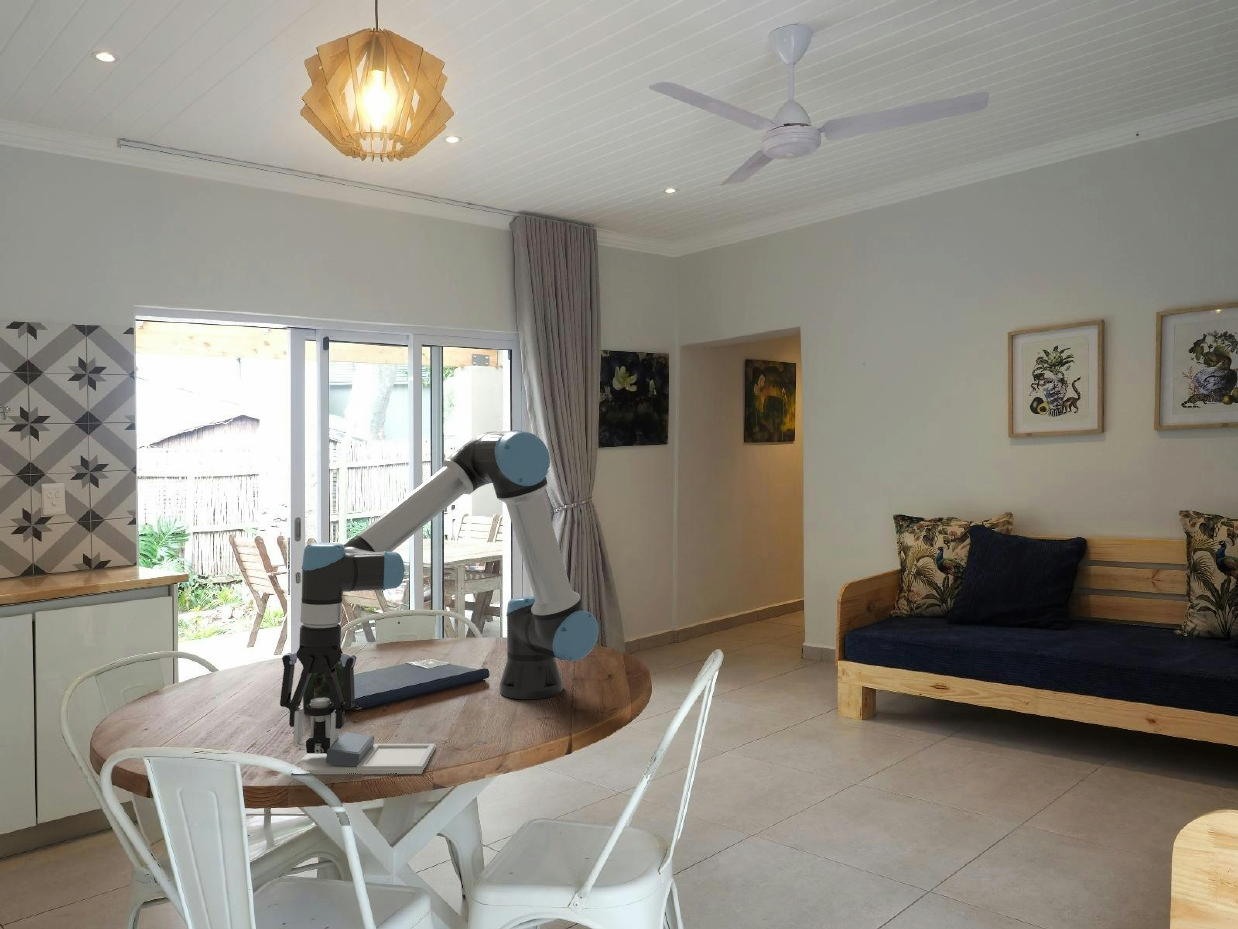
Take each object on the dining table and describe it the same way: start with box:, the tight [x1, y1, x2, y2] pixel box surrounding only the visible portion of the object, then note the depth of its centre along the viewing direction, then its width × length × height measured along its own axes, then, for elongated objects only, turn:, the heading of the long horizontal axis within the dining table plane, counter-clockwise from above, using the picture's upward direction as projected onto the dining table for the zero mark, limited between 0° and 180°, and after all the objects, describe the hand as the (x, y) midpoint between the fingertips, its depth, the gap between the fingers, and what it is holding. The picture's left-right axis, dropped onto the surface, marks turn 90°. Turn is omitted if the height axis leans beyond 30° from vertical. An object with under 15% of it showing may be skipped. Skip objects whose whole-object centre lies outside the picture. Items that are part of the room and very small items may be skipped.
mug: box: [302, 653, 350, 716], centre depth 208 cm, size 11×15×12 cm
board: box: [295, 743, 437, 775], centre depth 175 cm, size 24×14×1 cm, turn 91°
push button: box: [298, 698, 334, 754], centre depth 175 cm, size 7×5×10 cm
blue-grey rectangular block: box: [326, 731, 375, 767], centre depth 175 cm, size 6×11×3 cm, turn 1°
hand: (316, 744), depth 175 cm, fingers closed on push button, 6 cm apart
